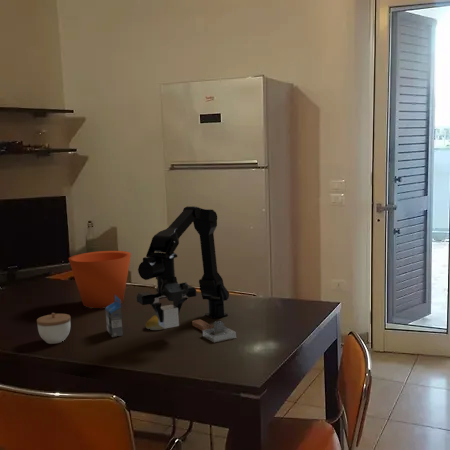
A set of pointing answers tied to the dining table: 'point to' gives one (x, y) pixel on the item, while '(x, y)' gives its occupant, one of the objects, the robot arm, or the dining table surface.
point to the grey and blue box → (114, 318)
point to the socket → (169, 316)
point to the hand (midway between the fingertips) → (168, 320)
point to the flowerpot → (101, 276)
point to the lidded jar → (54, 327)
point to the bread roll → (153, 324)
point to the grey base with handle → (214, 330)
